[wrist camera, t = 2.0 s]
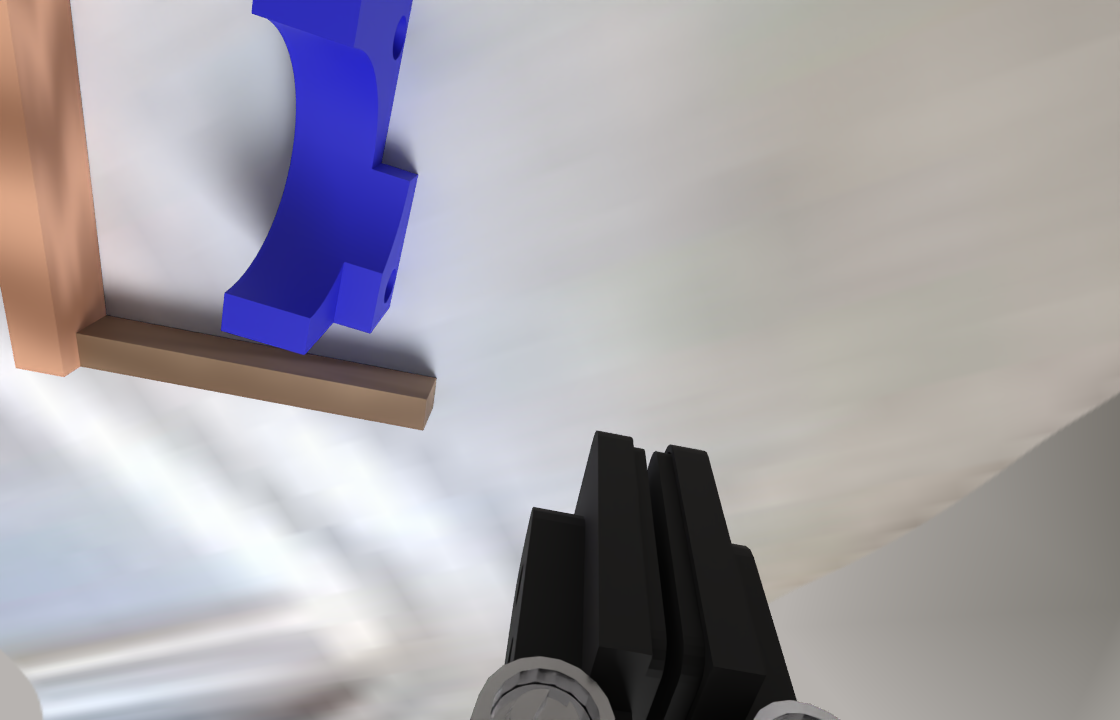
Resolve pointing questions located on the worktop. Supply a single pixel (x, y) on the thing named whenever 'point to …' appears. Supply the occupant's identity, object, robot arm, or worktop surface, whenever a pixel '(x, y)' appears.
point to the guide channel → (75, 272)
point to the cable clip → (331, 179)
